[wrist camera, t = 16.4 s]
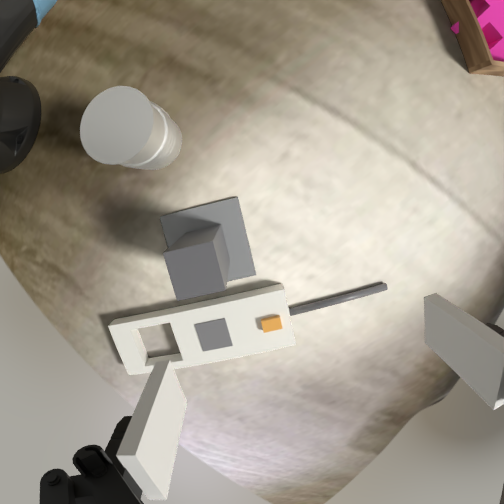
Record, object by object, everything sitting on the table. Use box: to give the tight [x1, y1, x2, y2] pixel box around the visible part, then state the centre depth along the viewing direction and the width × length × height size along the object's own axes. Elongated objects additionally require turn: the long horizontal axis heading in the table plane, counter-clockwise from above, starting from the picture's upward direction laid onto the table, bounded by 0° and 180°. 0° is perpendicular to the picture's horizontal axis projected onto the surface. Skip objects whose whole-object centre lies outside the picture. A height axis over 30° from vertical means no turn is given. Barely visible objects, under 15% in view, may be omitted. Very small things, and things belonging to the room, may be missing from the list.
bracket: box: [450, 0, 504, 62], centre depth 29 cm, size 12×10×10 cm
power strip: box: [108, 283, 387, 375], centre depth 41 cm, size 38×8×3 cm, turn 103°
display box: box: [441, 0, 504, 76], centre depth 32 cm, size 14×16×6 cm
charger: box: [163, 224, 230, 301], centre depth 35 cm, size 5×5×12 cm
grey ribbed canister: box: [80, 86, 182, 170], centre depth 31 cm, size 7×7×15 cm
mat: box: [160, 197, 256, 282], centre depth 41 cm, size 10×10×1 cm
